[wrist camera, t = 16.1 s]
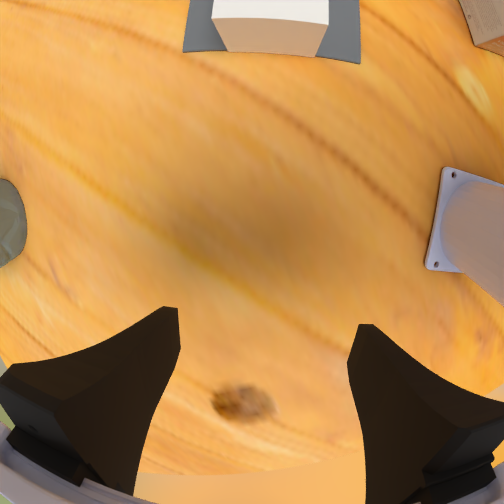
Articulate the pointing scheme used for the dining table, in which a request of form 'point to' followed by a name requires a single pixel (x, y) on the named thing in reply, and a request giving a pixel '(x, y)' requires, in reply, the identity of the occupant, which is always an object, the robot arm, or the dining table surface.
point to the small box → (486, 23)
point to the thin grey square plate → (332, 45)
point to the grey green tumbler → (11, 223)
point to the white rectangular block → (272, 25)
